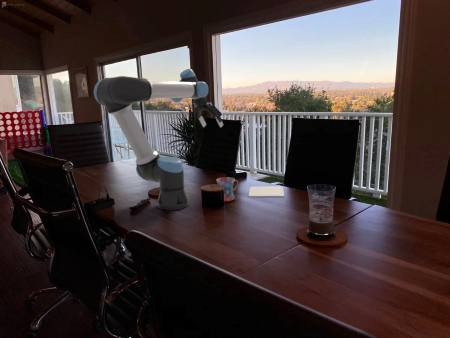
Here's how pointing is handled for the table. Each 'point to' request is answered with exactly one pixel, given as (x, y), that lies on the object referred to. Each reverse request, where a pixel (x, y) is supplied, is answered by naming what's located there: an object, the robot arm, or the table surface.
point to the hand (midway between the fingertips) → (213, 126)
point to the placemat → (266, 191)
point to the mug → (227, 187)
